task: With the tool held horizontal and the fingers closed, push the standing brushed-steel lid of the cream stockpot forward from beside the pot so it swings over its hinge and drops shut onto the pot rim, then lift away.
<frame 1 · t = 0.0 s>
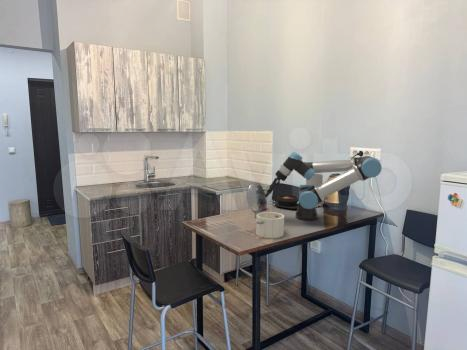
hand: (263, 198, 223), 15 cm above the table, tool tilted 35°, fingers open, 13 cm apart
cylinder vase: (313, 206, 267), on the table
candy bar box: (259, 210, 251), on the table
stockpot: (269, 233, 198), on the table
lid: (256, 197, 202), point 20 cm above the table, hinge at 103.0°
casserole: (287, 207, 263), on the table
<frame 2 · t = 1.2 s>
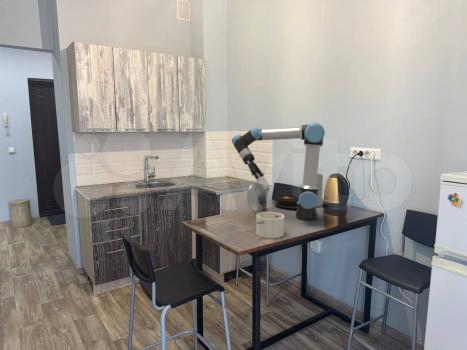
hand: (263, 184, 212), 26 cm above the table, tool tilted 40°, fingers open, 13 cm apart
lid: (256, 197, 202), point 20 cm above the table, hinge at 101.0°
everything else where it was.
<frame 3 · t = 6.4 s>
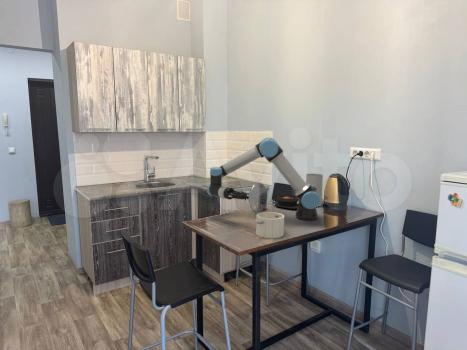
hand: (255, 198, 201), 20 cm above the table, tool horizontal, fingers closed
lid: (257, 197, 201), point 20 cm above the table, hinge at 93.4°, touching gripper
everything else where it was.
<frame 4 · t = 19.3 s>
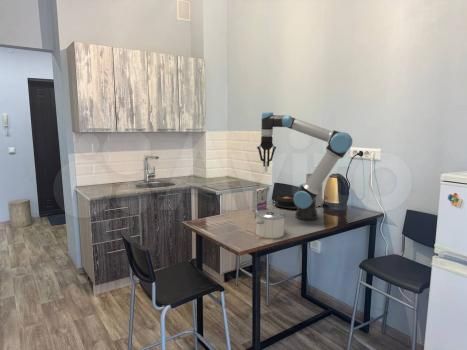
hand: (266, 171, 226), 32 cm above the table, tool pointing down, fingers closed
lid: (269, 214, 197), point 12 cm above the table, hinge at -1.0°, touching stockpot
everything else where it was.
at the end: lid at -1° (first picture: +103°) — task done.
